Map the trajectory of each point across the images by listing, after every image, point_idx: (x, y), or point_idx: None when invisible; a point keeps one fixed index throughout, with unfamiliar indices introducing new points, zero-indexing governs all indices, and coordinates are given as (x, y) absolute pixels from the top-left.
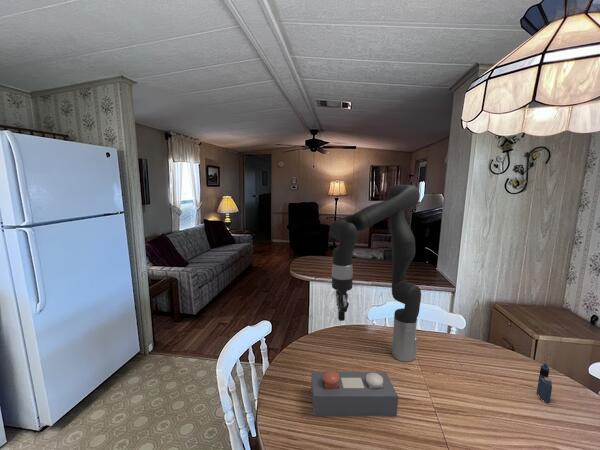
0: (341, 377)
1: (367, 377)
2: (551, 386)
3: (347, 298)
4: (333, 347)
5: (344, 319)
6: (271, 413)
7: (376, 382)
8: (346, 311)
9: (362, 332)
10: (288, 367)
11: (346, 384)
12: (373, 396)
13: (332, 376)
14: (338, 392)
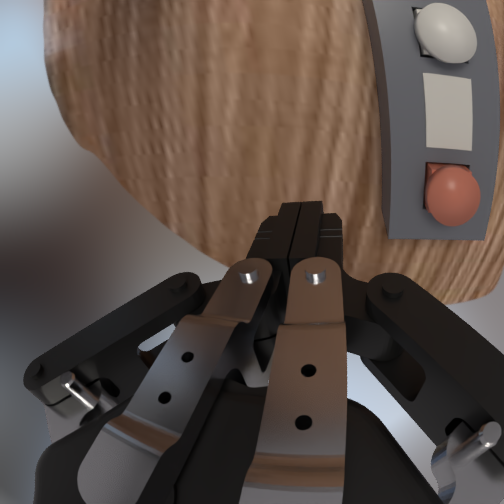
0: (422, 143)
1: (450, 57)
2: None
3: (342, 483)
4: (165, 135)
5: (320, 204)
6: (440, 290)
7: (469, 36)
8: (415, 285)
9: (74, 61)
10: None
11: (457, 136)
12: (497, 65)
13: (460, 194)
14: (483, 170)
